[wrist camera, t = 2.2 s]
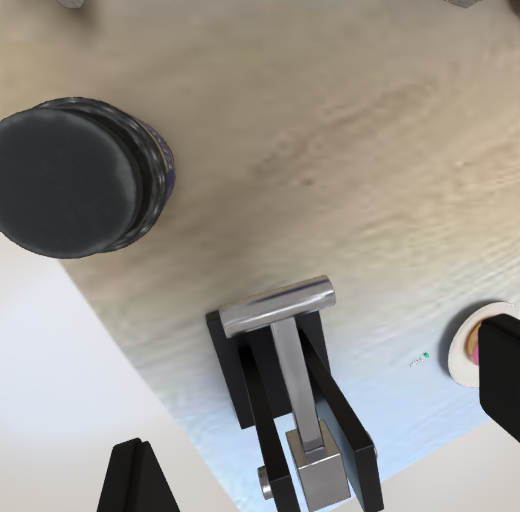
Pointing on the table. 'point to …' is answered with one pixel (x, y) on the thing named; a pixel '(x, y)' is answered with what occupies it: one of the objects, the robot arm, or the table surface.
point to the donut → (472, 344)
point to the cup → (71, 3)
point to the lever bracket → (277, 404)
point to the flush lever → (296, 382)
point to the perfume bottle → (463, 2)
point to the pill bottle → (80, 178)
